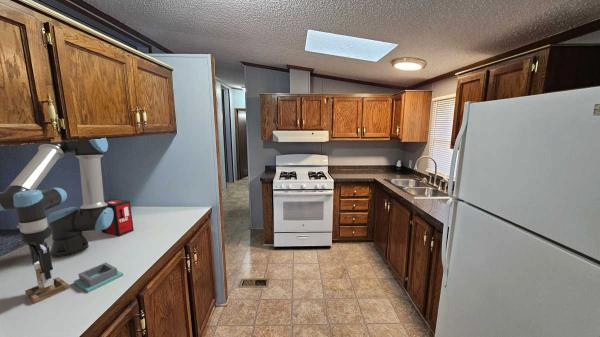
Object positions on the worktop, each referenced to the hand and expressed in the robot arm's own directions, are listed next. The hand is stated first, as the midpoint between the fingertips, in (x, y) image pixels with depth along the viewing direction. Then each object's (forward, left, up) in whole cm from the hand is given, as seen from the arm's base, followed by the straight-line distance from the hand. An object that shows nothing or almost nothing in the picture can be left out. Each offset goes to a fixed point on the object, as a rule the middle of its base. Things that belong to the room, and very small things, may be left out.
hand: (46, 283), depth 99 cm
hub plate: (+9, +14, -4) cm, 17 cm away
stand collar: (0, 0, -4) cm, 4 cm away
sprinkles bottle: (0, 0, -4) cm, 4 cm away
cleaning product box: (-39, +44, -4) cm, 59 cm away
